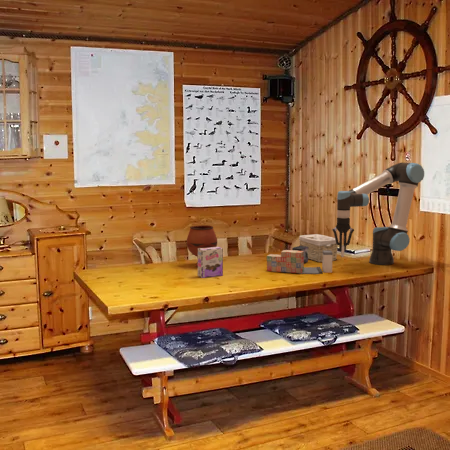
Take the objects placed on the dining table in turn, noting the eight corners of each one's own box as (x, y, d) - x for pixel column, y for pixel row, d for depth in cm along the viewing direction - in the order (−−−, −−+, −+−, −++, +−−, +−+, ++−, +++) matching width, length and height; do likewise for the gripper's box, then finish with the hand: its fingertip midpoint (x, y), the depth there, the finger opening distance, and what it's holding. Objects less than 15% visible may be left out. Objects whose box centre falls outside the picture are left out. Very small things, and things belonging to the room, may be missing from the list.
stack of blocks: (266, 271, 346) (266, 251, 344) (270, 269, 351) (269, 249, 350) (301, 273, 337) (300, 252, 335) (304, 271, 342) (303, 250, 341)
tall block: (330, 270, 348) (331, 250, 346) (332, 272, 342) (332, 252, 340) (322, 270, 348) (322, 250, 346) (323, 272, 342) (323, 252, 340)
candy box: (201, 278, 328) (201, 249, 326) (197, 276, 333) (197, 248, 331) (223, 275, 334) (223, 247, 332) (218, 273, 340) (218, 246, 337)
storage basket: (339, 260, 376) (339, 238, 374) (318, 263, 369) (319, 240, 367) (317, 254, 398) (317, 233, 396) (297, 256, 390) (298, 235, 388)
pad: (319, 268, 353) (319, 266, 353) (322, 274, 337) (322, 272, 337) (297, 268, 353) (297, 266, 353) (299, 274, 338) (299, 272, 337)
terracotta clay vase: (181, 267, 357) (181, 227, 353) (194, 262, 374) (194, 223, 371) (210, 270, 349) (209, 229, 346) (222, 264, 367) (221, 225, 364)
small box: (300, 265, 363) (300, 248, 362) (291, 263, 367) (291, 247, 366) (308, 262, 371) (308, 246, 370) (299, 261, 375) (300, 245, 374)
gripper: (353, 216, 343) (352, 255, 347) (331, 216, 344) (330, 255, 347) (355, 218, 336) (354, 257, 339) (333, 217, 337) (332, 257, 340)
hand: (342, 256), depth 343 cm, fingers closed
